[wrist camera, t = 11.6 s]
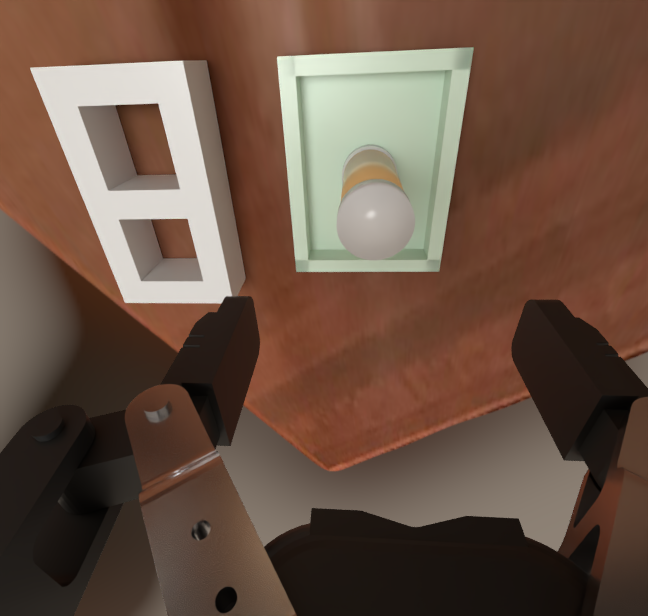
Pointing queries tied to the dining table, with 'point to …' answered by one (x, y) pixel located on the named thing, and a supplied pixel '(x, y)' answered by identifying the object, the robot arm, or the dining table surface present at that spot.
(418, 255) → the parts tray
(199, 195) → the frame
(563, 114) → the dining table surface
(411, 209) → the fuse
